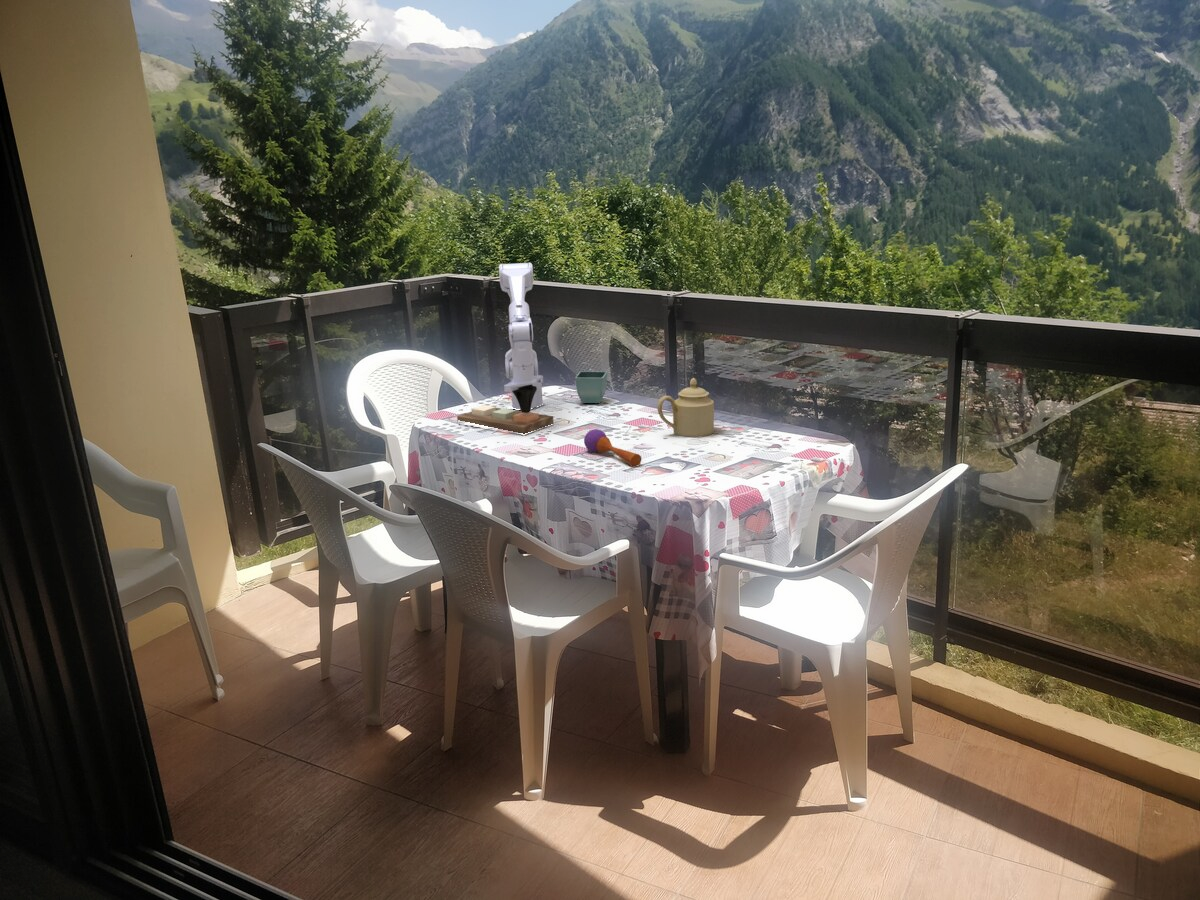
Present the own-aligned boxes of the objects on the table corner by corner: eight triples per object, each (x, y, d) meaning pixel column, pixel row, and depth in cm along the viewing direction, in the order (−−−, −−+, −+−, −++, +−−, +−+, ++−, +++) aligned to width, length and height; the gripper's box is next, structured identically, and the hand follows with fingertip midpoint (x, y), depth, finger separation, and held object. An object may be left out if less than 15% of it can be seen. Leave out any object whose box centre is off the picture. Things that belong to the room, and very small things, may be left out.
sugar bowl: (687, 443, 249) (687, 386, 245) (655, 436, 256) (654, 381, 252) (722, 430, 259) (722, 376, 255) (690, 424, 267) (689, 371, 262)
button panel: (488, 414, 286) (487, 406, 285) (553, 424, 272) (553, 416, 271) (457, 424, 276) (457, 416, 275) (524, 435, 261) (523, 426, 261)
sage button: (504, 416, 276) (503, 408, 276) (517, 418, 274) (516, 410, 273) (492, 420, 273) (491, 412, 272) (505, 422, 270) (505, 414, 269)
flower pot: (604, 406, 290) (603, 377, 288) (575, 406, 292) (574, 377, 289) (608, 399, 299) (607, 371, 296) (580, 399, 300) (579, 371, 297)
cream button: (483, 413, 281) (482, 405, 280) (496, 415, 278) (495, 407, 277) (472, 417, 277) (471, 408, 276) (484, 419, 274) (484, 410, 274)
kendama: (624, 454, 228) (578, 431, 244) (628, 476, 231) (581, 452, 246) (644, 445, 231) (596, 423, 247) (647, 466, 234) (600, 443, 249)
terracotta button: (525, 419, 272) (524, 411, 271) (538, 422, 269) (538, 413, 268) (513, 423, 268) (513, 415, 267) (527, 426, 265) (527, 417, 265)
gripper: (516, 370, 256) (520, 419, 260) (550, 361, 267) (552, 408, 271) (497, 368, 260) (500, 416, 264) (531, 359, 271) (533, 405, 275)
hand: (525, 412), depth 268 cm, fingers closed
